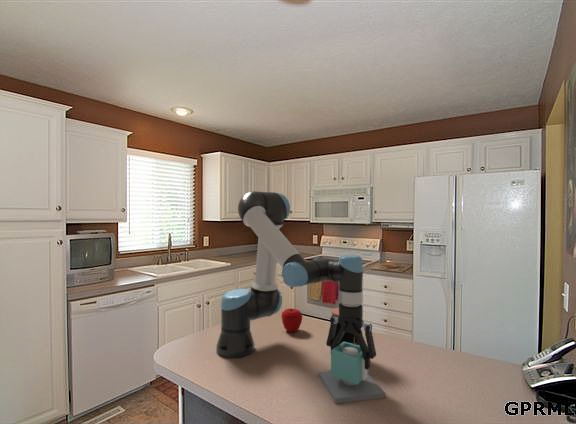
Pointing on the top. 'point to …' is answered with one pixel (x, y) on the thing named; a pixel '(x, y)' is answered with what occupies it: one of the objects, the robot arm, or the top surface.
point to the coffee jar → (347, 336)
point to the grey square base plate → (350, 386)
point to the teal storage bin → (347, 364)
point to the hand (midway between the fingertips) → (350, 373)
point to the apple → (291, 319)
